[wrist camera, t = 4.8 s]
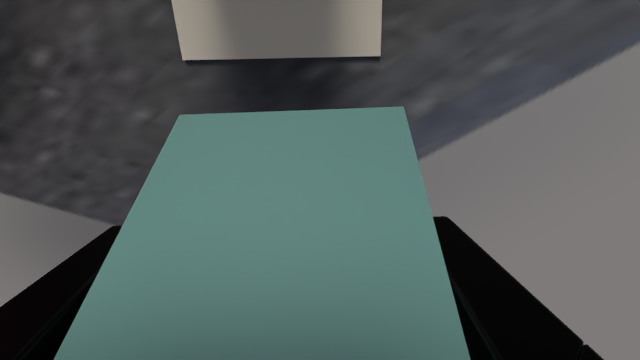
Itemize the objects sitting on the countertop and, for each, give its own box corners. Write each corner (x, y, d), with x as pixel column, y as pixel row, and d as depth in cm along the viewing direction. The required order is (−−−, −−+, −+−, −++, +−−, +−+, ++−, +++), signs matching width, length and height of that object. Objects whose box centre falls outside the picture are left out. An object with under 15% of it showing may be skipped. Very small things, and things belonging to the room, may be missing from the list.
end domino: (400, 167, 13) (506, 666, 5) (192, 174, 13) (2, 664, 5) (403, 106, 12) (534, 600, 4) (179, 114, 12) (-71, 601, 4)
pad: (383, -53, 19) (383, -52, 19) (379, 53, 21) (380, 56, 21) (165, -47, 20) (162, -45, 19) (184, 57, 22) (182, 60, 22)
